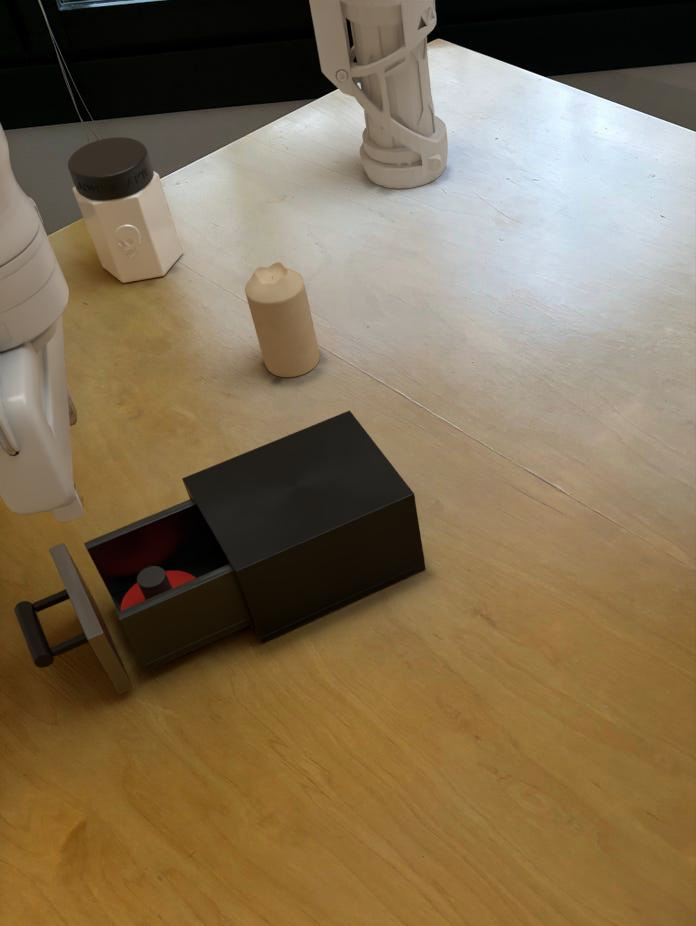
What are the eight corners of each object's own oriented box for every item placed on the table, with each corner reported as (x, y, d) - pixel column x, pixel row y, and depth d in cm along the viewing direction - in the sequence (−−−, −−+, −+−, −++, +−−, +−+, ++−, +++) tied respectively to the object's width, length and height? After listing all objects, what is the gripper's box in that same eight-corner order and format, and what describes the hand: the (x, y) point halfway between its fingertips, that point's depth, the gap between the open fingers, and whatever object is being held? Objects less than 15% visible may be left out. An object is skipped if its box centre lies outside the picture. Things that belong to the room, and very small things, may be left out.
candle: (255, 372, 106) (230, 283, 98) (281, 339, 109) (259, 250, 101) (304, 382, 104) (283, 293, 96) (329, 348, 107) (311, 259, 99)
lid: (129, 651, 82) (112, 620, 79) (118, 590, 86) (102, 558, 83) (214, 626, 83) (200, 594, 80) (199, 567, 87) (186, 534, 84)
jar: (102, 289, 116) (61, 183, 107) (103, 248, 121) (63, 144, 112) (184, 274, 117) (151, 168, 107) (182, 234, 122) (149, 130, 112)
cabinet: (262, 644, 84) (235, 571, 77) (210, 552, 91) (181, 478, 84) (426, 569, 88) (414, 493, 81) (365, 486, 94) (349, 409, 88)
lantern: (447, 141, 131) (425, -95, 111) (452, 185, 125) (430, -57, 105) (341, 152, 131) (301, -82, 112) (341, 197, 125) (298, -43, 105)
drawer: (65, 719, 80) (29, 665, 74) (29, 627, 86) (-7, 570, 80) (282, 620, 84) (263, 562, 79) (235, 539, 90) (214, 480, 85)
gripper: (42, 384, 55) (127, 564, 66) (33, 185, 67) (106, 364, 78) (-85, 412, 54) (23, 589, 65) (-70, 205, 66) (18, 383, 77)
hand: (68, 465), depth 72 cm, fingers open, 8 cm apart
